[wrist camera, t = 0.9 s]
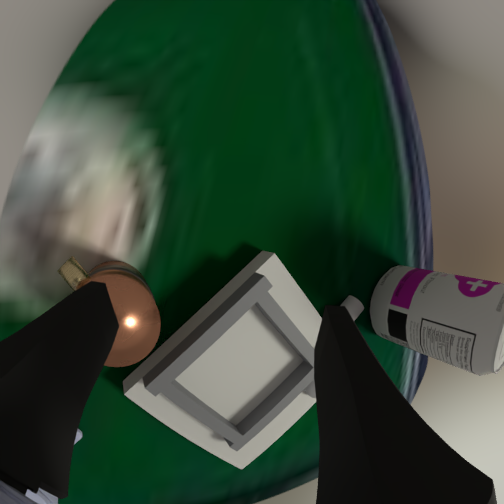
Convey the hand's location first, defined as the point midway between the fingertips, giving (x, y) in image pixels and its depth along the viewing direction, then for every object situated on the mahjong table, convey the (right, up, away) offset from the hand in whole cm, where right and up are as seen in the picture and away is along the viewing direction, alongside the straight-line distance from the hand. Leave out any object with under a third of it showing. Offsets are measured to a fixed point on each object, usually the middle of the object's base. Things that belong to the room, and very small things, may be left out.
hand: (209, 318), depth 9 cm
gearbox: (+2, -7, +15) cm, 17 cm away
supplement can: (+17, -3, +22) cm, 28 cm away
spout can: (-8, -1, +10) cm, 13 cm away
